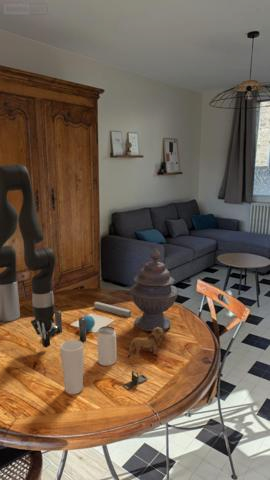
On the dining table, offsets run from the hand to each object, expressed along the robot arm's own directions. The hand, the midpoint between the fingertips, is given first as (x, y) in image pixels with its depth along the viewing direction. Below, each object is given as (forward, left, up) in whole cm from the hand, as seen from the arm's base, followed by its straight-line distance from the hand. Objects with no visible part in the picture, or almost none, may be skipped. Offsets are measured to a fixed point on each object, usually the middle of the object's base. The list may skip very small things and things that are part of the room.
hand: (46, 346), depth 129 cm
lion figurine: (+33, +18, -2) cm, 37 cm away
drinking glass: (+25, -12, -2) cm, 28 cm away
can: (+24, +6, -2) cm, 25 cm away
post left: (-6, +13, -2) cm, 15 cm away
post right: (+7, +13, -2) cm, 15 cm away
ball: (+2, +21, +2) cm, 21 cm away
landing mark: (0, +27, -2) cm, 27 cm away
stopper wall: (0, +41, -2) cm, 41 cm away
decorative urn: (+24, +39, -2) cm, 46 cm away
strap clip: (+39, +1, -2) cm, 39 cm away
